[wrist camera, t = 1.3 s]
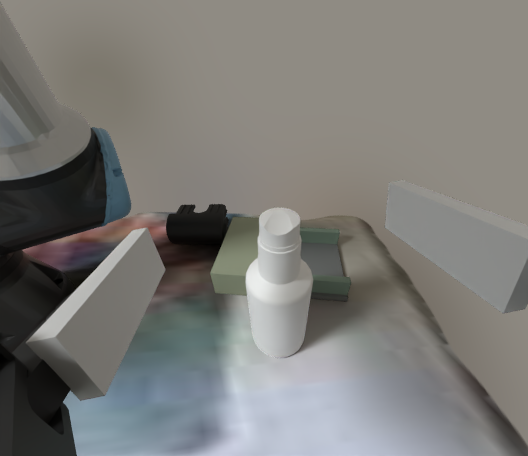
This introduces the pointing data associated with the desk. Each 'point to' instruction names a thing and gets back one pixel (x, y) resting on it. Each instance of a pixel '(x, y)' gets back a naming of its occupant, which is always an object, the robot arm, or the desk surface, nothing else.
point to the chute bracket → (312, 252)
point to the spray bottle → (279, 285)
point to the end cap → (197, 225)
